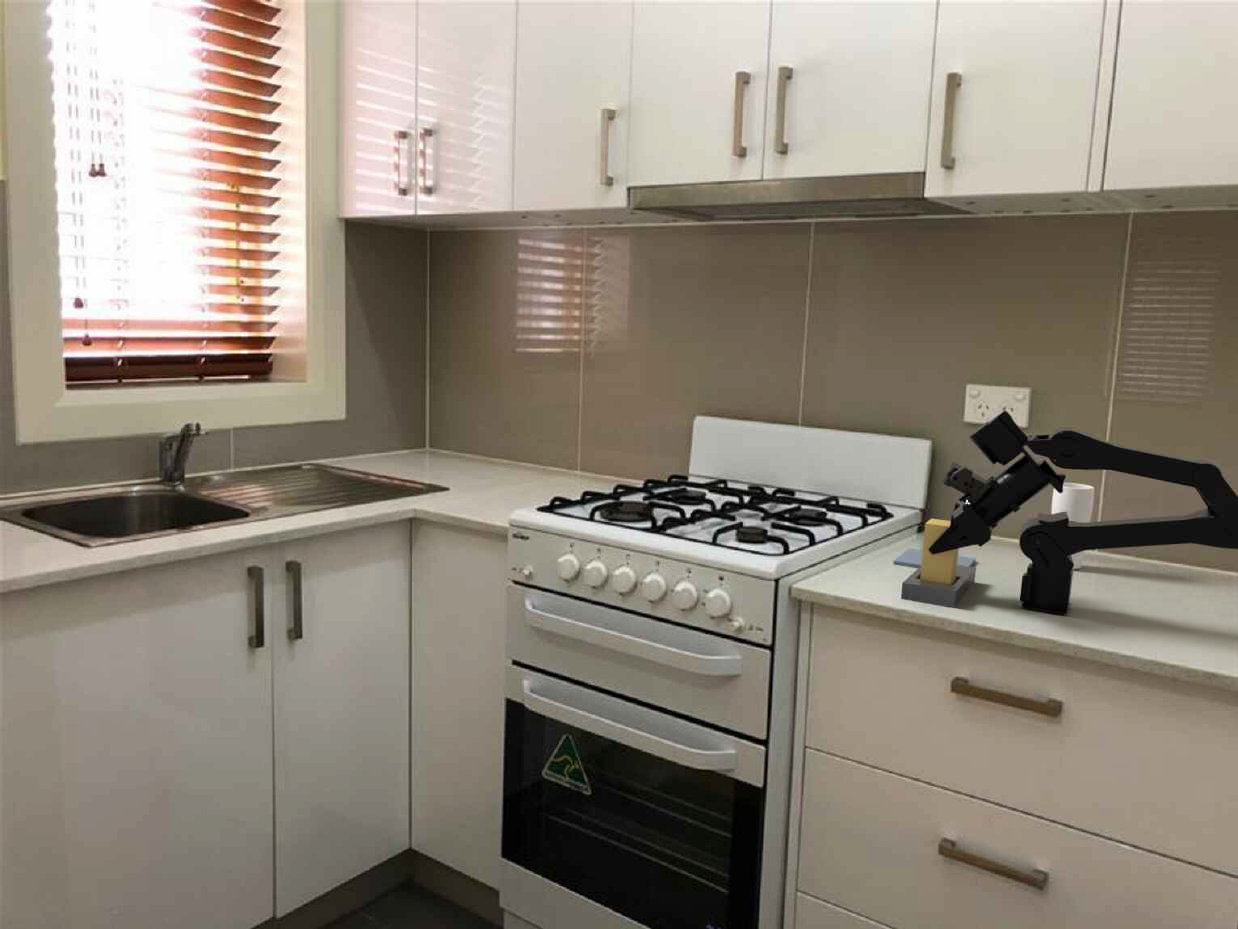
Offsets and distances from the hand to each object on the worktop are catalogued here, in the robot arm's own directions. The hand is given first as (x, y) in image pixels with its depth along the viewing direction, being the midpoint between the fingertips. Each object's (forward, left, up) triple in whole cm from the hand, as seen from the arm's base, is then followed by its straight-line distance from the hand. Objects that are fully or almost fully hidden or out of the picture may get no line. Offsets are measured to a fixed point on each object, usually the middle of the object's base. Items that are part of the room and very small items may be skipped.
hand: (931, 548), depth 158 cm
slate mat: (+3, -21, -7) cm, 23 cm away
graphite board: (-1, -2, -7) cm, 8 cm away
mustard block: (-1, 0, -7) cm, 7 cm away
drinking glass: (-17, -34, -7) cm, 39 cm away
